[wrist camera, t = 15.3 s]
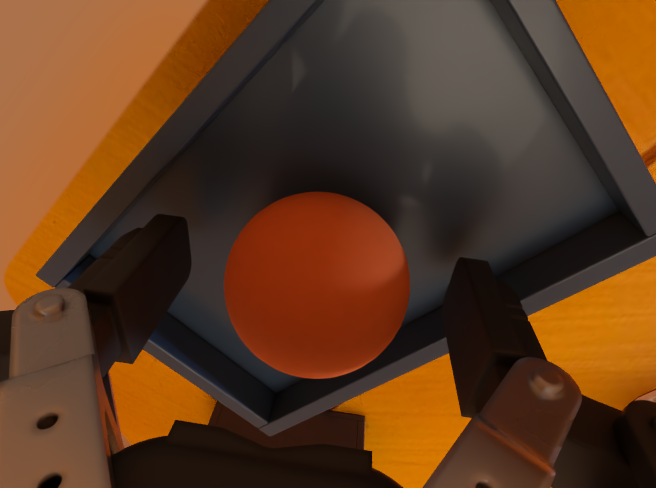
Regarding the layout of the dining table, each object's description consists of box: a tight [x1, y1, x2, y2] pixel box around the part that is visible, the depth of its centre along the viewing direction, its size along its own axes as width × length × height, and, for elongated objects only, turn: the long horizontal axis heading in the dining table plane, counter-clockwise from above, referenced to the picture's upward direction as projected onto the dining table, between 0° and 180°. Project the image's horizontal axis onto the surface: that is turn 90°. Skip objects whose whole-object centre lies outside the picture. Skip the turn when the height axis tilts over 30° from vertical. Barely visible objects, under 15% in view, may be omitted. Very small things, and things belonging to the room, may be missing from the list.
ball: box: [224, 192, 410, 379], centre depth 11 cm, size 5×5×5 cm
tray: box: [36, 0, 656, 436], centre depth 13 cm, size 16×11×2 cm
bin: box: [208, 400, 365, 450], centre depth 40 cm, size 14×12×5 cm
